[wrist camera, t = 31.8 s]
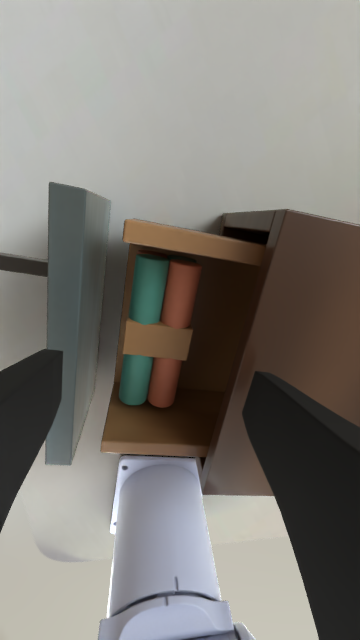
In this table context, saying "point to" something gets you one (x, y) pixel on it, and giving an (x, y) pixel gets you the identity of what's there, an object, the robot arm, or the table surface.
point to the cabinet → (289, 333)
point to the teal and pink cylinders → (158, 327)
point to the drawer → (85, 318)
